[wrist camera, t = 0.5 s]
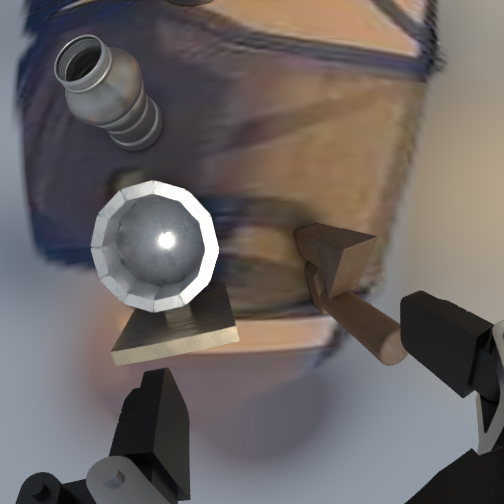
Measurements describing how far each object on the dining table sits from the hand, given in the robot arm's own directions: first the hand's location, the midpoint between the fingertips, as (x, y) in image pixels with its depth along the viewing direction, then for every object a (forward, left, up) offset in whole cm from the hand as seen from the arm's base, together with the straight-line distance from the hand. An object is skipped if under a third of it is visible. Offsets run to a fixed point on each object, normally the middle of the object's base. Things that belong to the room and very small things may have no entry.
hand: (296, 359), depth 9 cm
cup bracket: (-1, -8, -28) cm, 29 cm away
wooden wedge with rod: (+6, +10, -28) cm, 31 cm away
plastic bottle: (-16, -8, -28) cm, 33 cm away
